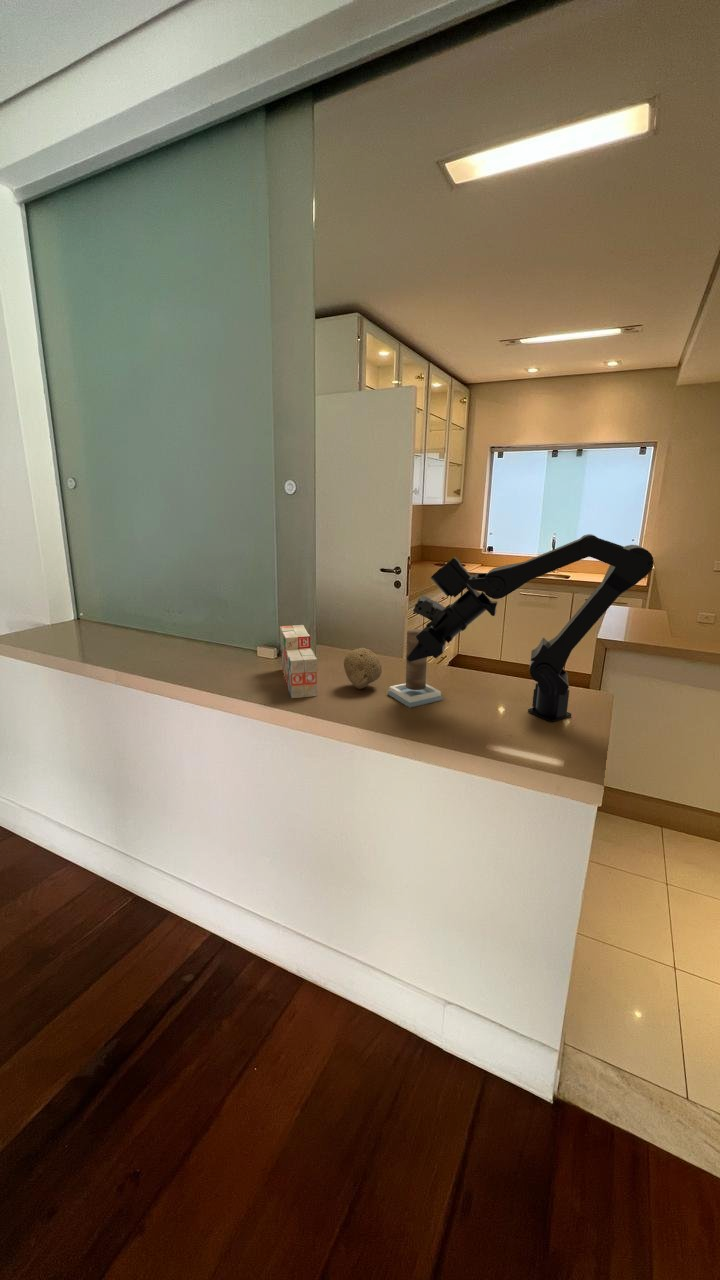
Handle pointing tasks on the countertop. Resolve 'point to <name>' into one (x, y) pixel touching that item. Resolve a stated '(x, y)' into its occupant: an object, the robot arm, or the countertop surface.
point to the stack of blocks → (298, 661)
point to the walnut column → (415, 664)
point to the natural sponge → (362, 667)
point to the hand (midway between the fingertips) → (410, 656)
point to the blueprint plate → (414, 695)
